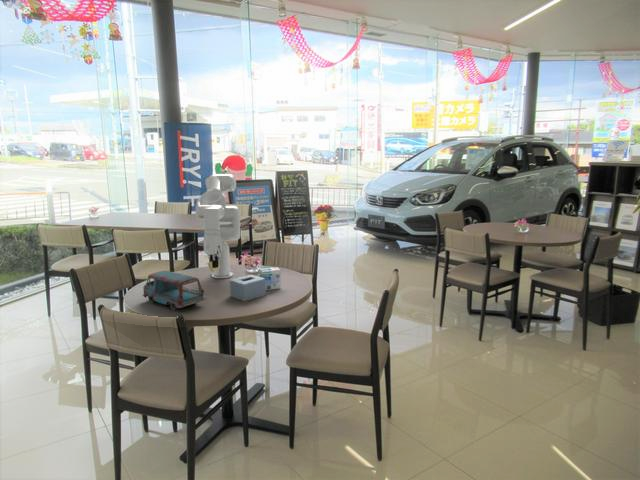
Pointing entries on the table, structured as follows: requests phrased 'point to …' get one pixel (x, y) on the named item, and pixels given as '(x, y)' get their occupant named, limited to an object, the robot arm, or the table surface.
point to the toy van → (172, 289)
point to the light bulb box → (271, 277)
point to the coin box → (247, 287)
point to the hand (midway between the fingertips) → (214, 266)
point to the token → (212, 266)
